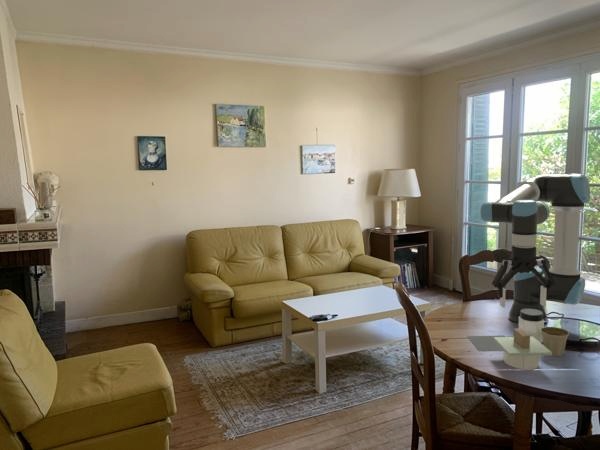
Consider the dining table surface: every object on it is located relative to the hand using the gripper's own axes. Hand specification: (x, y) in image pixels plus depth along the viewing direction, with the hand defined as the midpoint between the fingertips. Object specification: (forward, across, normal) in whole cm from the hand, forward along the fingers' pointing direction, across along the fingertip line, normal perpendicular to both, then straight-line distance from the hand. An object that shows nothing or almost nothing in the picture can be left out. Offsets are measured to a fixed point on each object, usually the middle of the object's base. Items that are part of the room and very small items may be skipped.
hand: (522, 305), depth 154 cm
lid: (+15, 0, 0) cm, 15 cm away
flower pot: (+22, -14, -8) cm, 27 cm away
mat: (+21, +4, -16) cm, 27 cm away
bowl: (+21, 0, 0) cm, 21 cm away
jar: (+22, -12, -20) cm, 31 cm away
